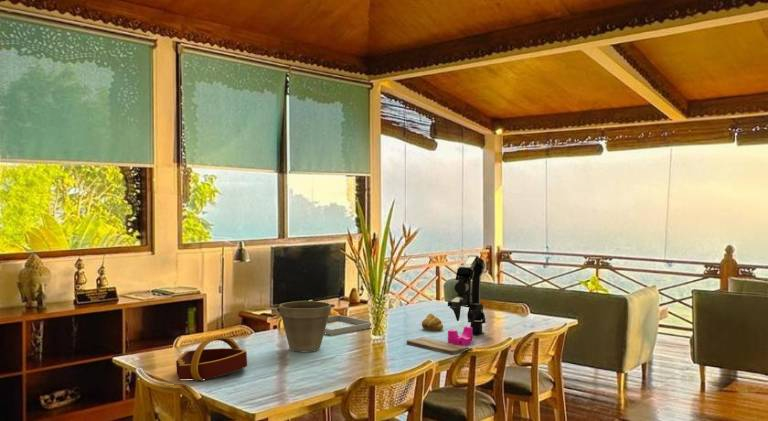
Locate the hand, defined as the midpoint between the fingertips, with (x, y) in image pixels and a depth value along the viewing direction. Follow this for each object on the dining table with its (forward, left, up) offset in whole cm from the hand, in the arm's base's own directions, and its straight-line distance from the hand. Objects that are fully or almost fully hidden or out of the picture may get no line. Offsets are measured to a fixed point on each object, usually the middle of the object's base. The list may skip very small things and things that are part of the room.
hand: (465, 322), depth 320 cm
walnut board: (+15, -5, -11) cm, 19 cm away
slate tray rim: (+22, -76, -11) cm, 80 cm away
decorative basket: (+116, -39, -11) cm, 123 cm away
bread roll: (-14, -35, -11) cm, 39 cm away
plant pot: (+65, -46, -11) cm, 80 cm away
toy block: (+1, -1, -11) cm, 11 cm away
